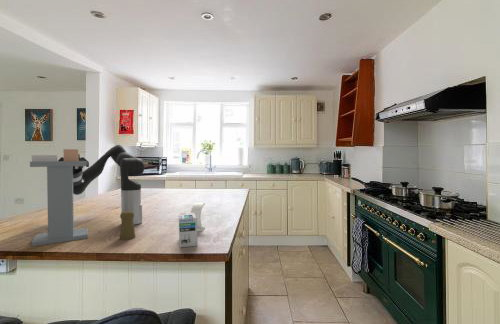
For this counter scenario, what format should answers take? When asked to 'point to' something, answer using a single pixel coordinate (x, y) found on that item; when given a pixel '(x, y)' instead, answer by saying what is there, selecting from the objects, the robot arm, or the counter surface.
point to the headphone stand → (198, 214)
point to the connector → (71, 155)
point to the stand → (59, 200)
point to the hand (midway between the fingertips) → (72, 154)
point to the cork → (127, 226)
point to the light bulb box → (187, 229)
